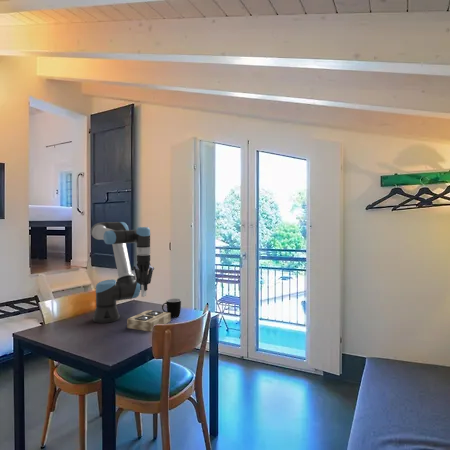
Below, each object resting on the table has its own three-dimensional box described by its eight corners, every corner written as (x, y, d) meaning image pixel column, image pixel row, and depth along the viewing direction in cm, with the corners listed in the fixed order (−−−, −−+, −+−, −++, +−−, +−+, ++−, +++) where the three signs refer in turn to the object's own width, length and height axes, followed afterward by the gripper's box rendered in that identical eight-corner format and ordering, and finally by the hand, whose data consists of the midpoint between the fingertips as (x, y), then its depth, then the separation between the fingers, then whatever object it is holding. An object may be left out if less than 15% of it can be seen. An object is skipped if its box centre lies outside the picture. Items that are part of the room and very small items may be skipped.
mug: (182, 314, 224) (182, 298, 224) (179, 318, 215) (179, 302, 215) (164, 313, 225) (164, 298, 225) (160, 318, 216) (159, 301, 216)
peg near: (139, 326, 198) (139, 318, 198) (143, 324, 202) (143, 316, 201) (145, 327, 197) (144, 318, 197) (148, 325, 200) (148, 317, 200)
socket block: (127, 327, 198) (127, 318, 198) (148, 318, 216) (148, 309, 216) (150, 331, 192) (150, 321, 191) (170, 321, 210) (170, 312, 210)
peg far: (150, 321, 207) (150, 313, 207) (153, 319, 211) (153, 311, 211) (155, 322, 206) (155, 314, 206) (158, 320, 209) (158, 312, 209)
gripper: (129, 254, 197) (130, 296, 198) (149, 255, 192) (149, 298, 193) (138, 253, 204) (138, 293, 205) (157, 254, 199) (157, 295, 200)
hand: (143, 296), depth 199 cm, fingers closed
